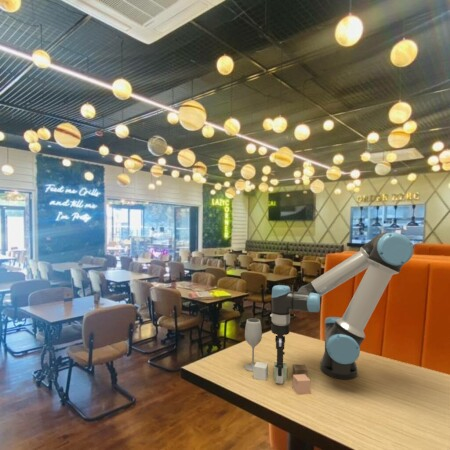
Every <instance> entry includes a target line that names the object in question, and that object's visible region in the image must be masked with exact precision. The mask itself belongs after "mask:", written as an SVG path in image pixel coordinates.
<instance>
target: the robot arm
mask: <svg viewBox="0 0 450 450" xmlns="http://www.w3.org/2000/svg"><path fill="white" fill-rule="evenodd" d="M413 255H414V246H413V243H412V241H411V239H409V238H408V237H407V236H406V235H404V234H402V233H398V232H395V231H394V232H382V233H378V234H377V235H376V236H374V237H373V238H371V240H369V241H368V242H366V243H365V244H363V245H362V246H361V247H360V249H359V251H357V252H356V253H354V254H352V255H351V256H349V257H347V258H346V259H345V260H343V261H341V262H340V263H338V264H337V265H335V266H334V267H332V268H331V269H329V270H328V271H326V272H324V273H323V274H321V275H320V276H318V277H316V278H314V279H313V280H312V281H310V282H309V283H307V284H305V285H302V286H301V287H300V288H298V290H297V291H291V288H290V286H289V285H285V284H283V285H282V284H278V285H273V287H272V289H271V314H270V315H269V317H271V322H272V323H270V324H271V328H270V329H271V331H270V332H271V333H272V334H274V335H275V339H274V340H275V349H276V362H277V365H275V367H276V380H275V383H276V384H281V385H282V384H283V385H284V380H283V363H284V355H285V353H286V352H285V351H284V350H285V344H286V336H287V335H289V334H290V323H291V322H290V321H291V313H290V312H291V311H296V312H297V311H298V312H309V313H319V312H320V308H321V297H323V296H324V295H326V294H327V293H328V292H331V291H333V290H334V289H336V288H337V287H339V286H341V285H342V284H344V283H345V282H347V281H349V280H351V279H352V278H353V277H355V276H357V275H359V274H360V273H362V272H364V271H365V270H366V271H365V273H364V275H363V276H362V279H361V280H360V282H359V285H358V286H357V288H356V289H355V292H354V294H353V295H352V296H353V297H352V298H351V300H350V301H349V304H348V306H347V308H346V310H345V312H344V313H343V315H342V317H340V316H328V317H326V318H325V319H324V353H323V355H322V358H321V361H320V368H319V369H320V371H321V372H322V373H323V374H325V375H326V376H329V377H331V378H336V379H339V380H351V379H355V378H356V377H358V367H357V363H356V361H357V360H358V358H359V357H360V353H361V349H360V347H361V346H362V343H363V341H364V340H365V339H366V334H365V332H364V330H365V328H366V326H367V324H368V322H369V320H370V318H371V317H372V314H373V313H374V311H375V309H376V307H377V305H378V303H379V301H380V299H381V298H382V296H383V294H384V292H385V291H386V288H387V287H388V284H389V282H390V281H391V279H392V276H393V275H398V274H399V273H400V272H401V270H402V268H403V266H404V265H405V264H407V263H408V262H409V261H410V260H411V259H412V258H413Z"/></svg>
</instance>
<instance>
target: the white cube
mask: <svg viewBox="0 0 450 450" xmlns="http://www.w3.org/2000/svg"><path fill="white" fill-rule="evenodd" d="M254 364H255V365H254V372H253V380H254V379H255V380H260V381H266V380H267V378H268V376H269V363H267V362H261V361H256V362H254Z"/></svg>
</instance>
